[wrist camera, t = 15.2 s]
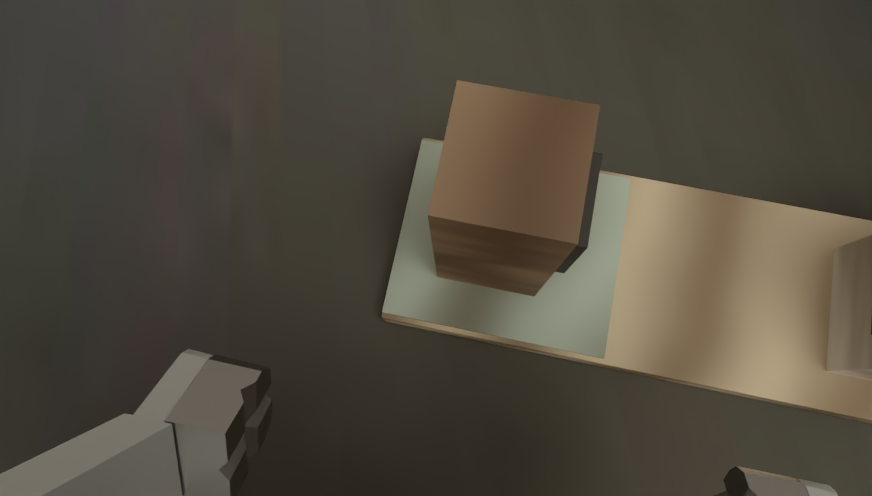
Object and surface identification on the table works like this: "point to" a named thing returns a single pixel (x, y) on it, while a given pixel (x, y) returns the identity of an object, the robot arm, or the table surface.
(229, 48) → the table surface
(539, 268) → the walnut block
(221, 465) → the robot arm
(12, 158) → the table surface
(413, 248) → the rail
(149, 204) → the table surface
